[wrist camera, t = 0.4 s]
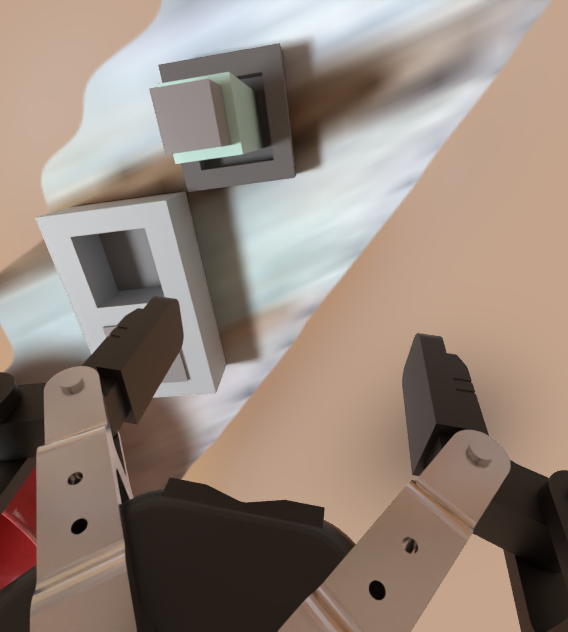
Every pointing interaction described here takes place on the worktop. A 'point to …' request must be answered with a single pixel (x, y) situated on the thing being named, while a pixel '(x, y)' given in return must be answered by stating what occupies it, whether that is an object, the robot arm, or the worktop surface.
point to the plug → (207, 117)
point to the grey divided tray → (138, 277)
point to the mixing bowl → (19, 532)
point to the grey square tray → (272, 103)
